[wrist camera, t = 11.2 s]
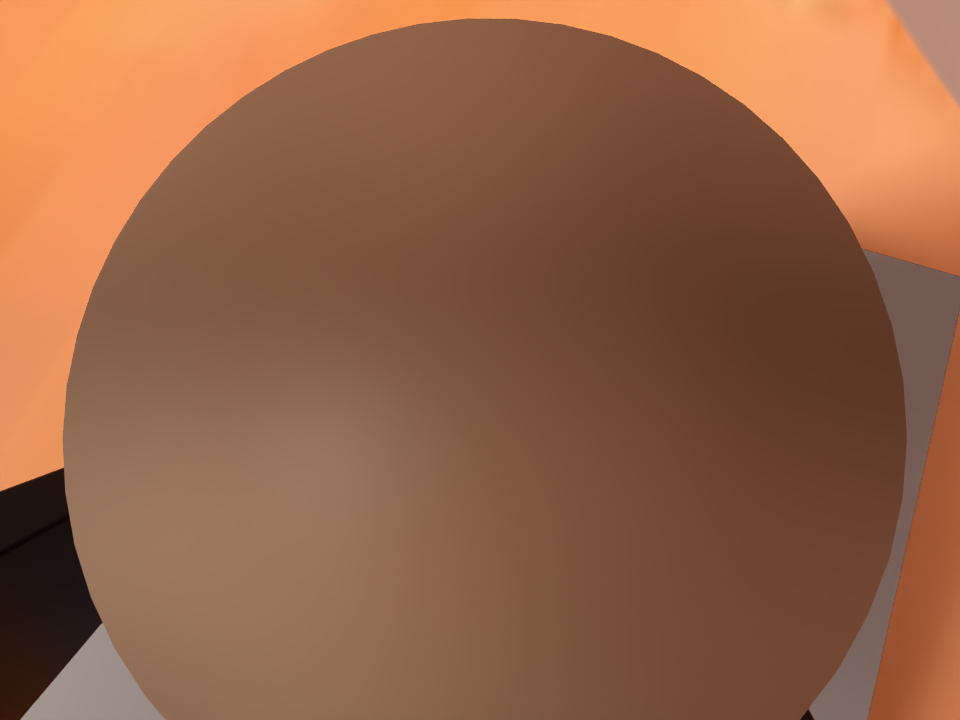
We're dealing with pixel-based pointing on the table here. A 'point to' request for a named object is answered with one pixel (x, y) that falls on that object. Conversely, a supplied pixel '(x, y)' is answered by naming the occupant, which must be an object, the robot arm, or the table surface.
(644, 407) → the cord spool
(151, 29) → the table surface
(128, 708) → the gray square frame
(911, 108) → the table surface
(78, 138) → the table surface
